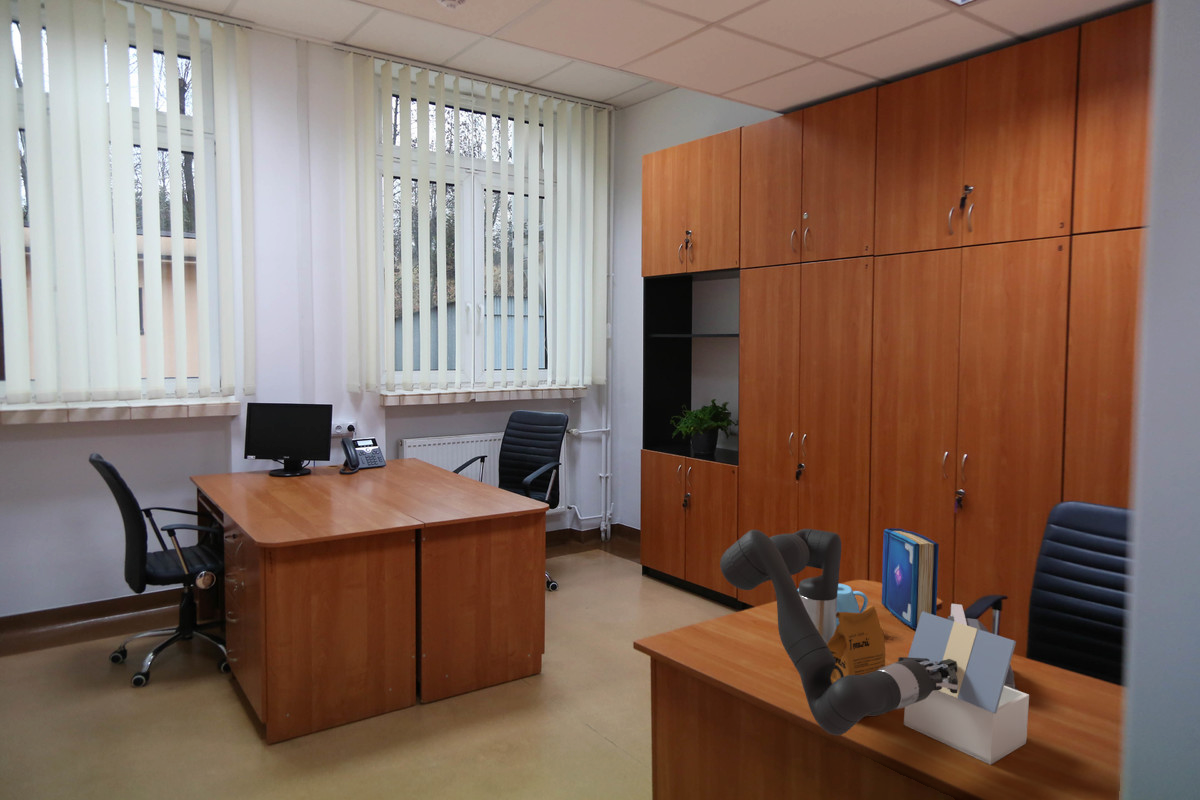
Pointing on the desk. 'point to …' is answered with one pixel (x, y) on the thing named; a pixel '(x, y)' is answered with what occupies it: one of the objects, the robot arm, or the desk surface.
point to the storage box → (972, 723)
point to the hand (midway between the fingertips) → (953, 664)
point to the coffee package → (857, 644)
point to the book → (909, 575)
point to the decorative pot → (848, 600)
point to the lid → (966, 657)
